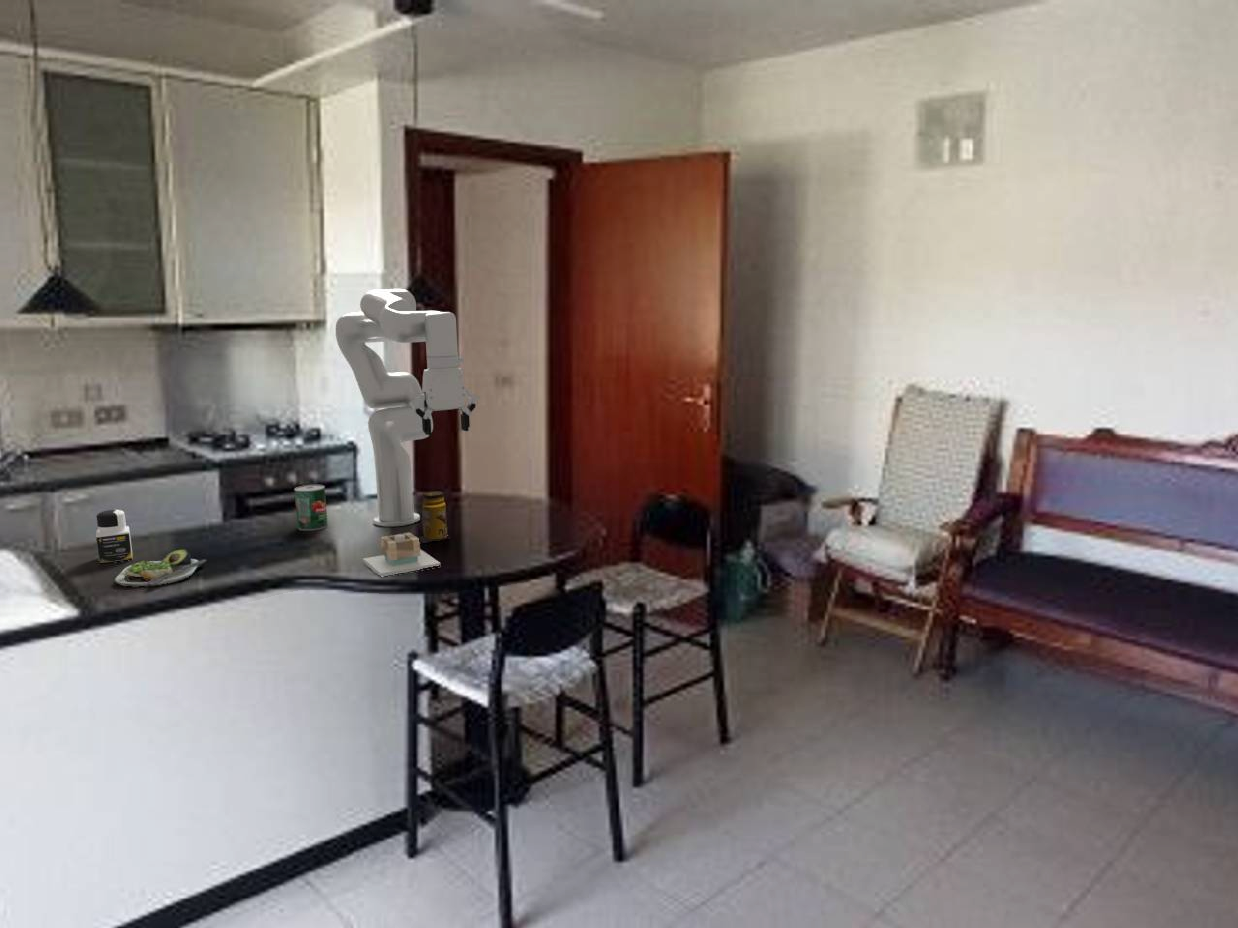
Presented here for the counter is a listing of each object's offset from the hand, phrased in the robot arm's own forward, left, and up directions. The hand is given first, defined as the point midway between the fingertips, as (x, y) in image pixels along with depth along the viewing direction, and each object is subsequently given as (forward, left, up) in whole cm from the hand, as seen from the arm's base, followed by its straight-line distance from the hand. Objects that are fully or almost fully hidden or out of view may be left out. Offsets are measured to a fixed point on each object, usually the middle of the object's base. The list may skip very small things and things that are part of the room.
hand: (446, 432), depth 233 cm
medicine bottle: (-35, -74, -28) cm, 87 cm away
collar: (+11, -17, -26) cm, 33 cm away
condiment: (-7, -3, -29) cm, 30 cm away
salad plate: (-14, -66, -29) cm, 73 cm away
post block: (+11, -17, -28) cm, 35 cm away
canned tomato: (-38, -26, -28) cm, 54 cm away
